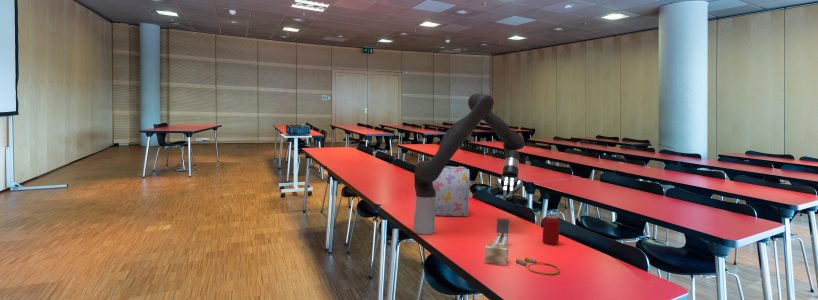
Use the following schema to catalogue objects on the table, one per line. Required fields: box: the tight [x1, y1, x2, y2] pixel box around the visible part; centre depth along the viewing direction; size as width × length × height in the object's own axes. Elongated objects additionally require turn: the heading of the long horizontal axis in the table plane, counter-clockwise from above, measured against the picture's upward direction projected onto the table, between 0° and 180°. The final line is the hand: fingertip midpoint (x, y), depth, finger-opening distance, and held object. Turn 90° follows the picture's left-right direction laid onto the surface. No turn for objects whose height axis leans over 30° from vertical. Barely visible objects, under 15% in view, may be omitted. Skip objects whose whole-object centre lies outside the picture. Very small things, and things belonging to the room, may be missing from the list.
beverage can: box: [542, 214, 561, 246], centre depth 190 cm, size 7×7×12 cm
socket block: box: [484, 242, 509, 266], centre depth 165 cm, size 8×6×6 cm
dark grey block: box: [496, 217, 510, 244], centre depth 181 cm, size 5×18×10 cm, turn 163°
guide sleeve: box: [493, 233, 509, 246], centre depth 181 cm, size 5×16×4 cm, turn 163°
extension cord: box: [515, 257, 561, 276], centre depth 160 cm, size 12×16×2 cm
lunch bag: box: [432, 165, 470, 217], centre depth 238 cm, size 22×17×26 cm
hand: (507, 198), depth 202 cm, fingers closed
